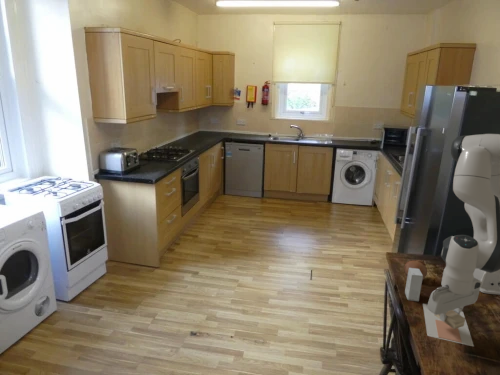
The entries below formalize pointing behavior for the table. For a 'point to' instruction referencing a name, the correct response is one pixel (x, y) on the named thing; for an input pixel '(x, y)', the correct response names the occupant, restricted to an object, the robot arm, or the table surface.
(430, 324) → the mat
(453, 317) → the beige angular block
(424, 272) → the onion
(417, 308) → the table surface
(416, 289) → the skincare box
